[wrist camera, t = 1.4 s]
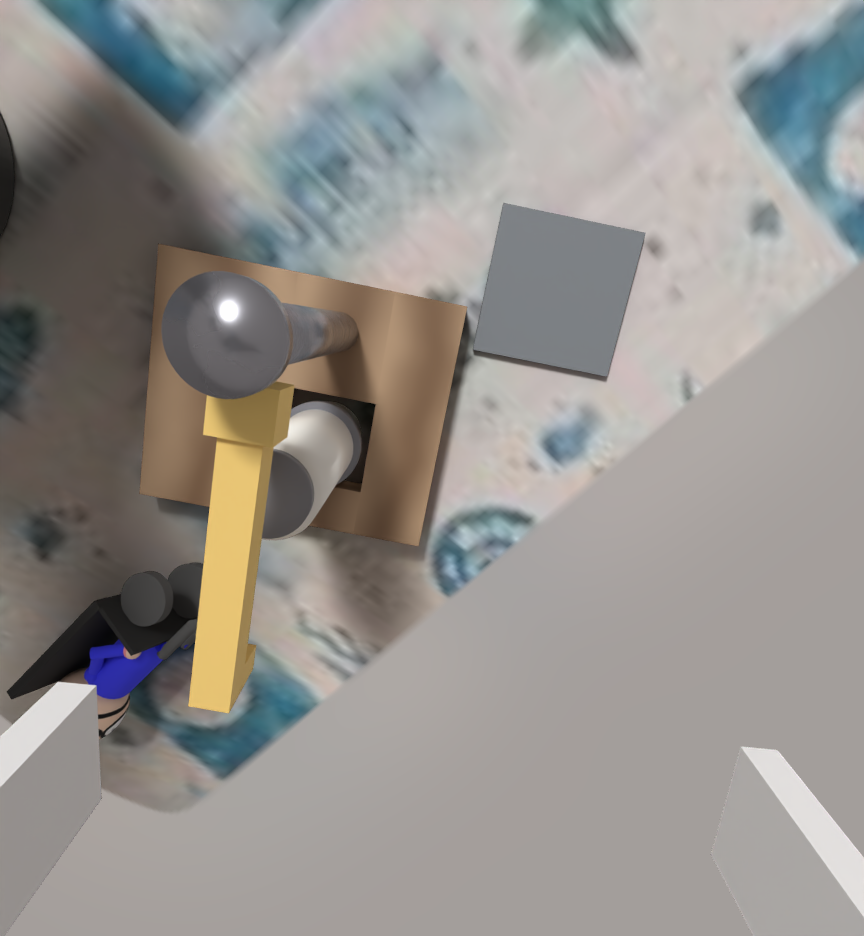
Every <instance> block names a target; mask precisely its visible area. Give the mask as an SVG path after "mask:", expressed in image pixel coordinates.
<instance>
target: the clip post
mask: <svg viewBox="0 0 864 936" xmlns="http://www.w3.org/2000/svg"><path fill="white" fill-rule="evenodd" d="M161 334H162V342H163V346H164V350H165V352H166V355H167V358H168V360H169V362H170V363H171V365H172V367H173V368H174V370H175V371H176V373H177V374H178V375H179V376H180V377H181V378H182V379H183V380H184V381H185V382H186V383H187V384H188V385H190V386H191V387H193V388H194V389H196V390H197V391H199V392H201V393H203V394H206V395H208V396H211V397H215V398H220V399H238V398H243V397H247V396H250V395H253V394H256V393H258V392H260V391H263V390H265V389H266V388H268V387H270V386H271V385H272V384H273V383H275V382H276V381H277V380H278V379H279V378H280V376H281V375H282V374H283V372H284V371H285V369H286V367H287V365H290V364H294V363H298V362H302V361H306V360H310V359H314V358H318V357H322V356H326V355H330V354H334V353H338V352H342V351H345V350H348V349H350V348H351V347H352V346H353V345H354V344H355V343H356V341H357V338H358V326H357V324H356V322H355V320H354V319H353V318H352V317H351V316H350V315H348V314H346V313H344V312H338V311H332V310H326V309H319V308H313V307H307V306H300V305H294V304H288V303H281V301H280V300H279V299H278V298H277V296H276V295H275V294H274V293H273V292H272V291H271V290H270V289H269V288H267V287H266V286H265V285H263V284H262V283H260V282H258V281H257V280H254V279H252V278H250V277H247V276H243V275H239V274H236V273H232V272H225V271H211V272H205V273H202V274H198V275H196V276H194V277H192V278H190V279H188V280H187V281H185V282H184V283H183V284H181V285H180V286H179V287H178V288H177V289H176V290H175V292H174V293H173V294H172V296H171V297H170V299H169V300H168V303H167V305H166V307H165V310H164V313H163V318H162V326H161Z"/></svg>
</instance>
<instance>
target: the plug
mask: <svg viewBox="0 0 864 936" xmlns="http://www.w3.org/2000/svg"><path fill="white" fill-rule="evenodd" d="M361 451H362V431H361V426H360V423H359V421H358V419H357V417H356V416H355V415H354V413H353V412H352V411H351V410H350V409H348V408H347V407H346V406H344V405H342V404H339V403H337V402H332V401H309V402H305V403H302V404H300V405H298V406H296V407H294V408H293V409H291V415H290V422H289V430H288V437H287V438H286V439H284V440H283V441H281V442H280V443H279V444H277V445H276V446H275V447H274V449H273V456H272V464H271V471H270V479H269V486H268V494H267V502H266V509H265V517H264V524H263V532H262V539H265V540H282V539H286V538H290V537H292V536H295V535H297V534H298V533H300V532H302V531H303V530H304V529H306V528H307V527H308V526H309V525H310V523H311V522H312V521H313V519H314V518H315V516H316V515H317V513H318V512H319V510H320V509H321V507H322V506H323V504H324V503H325V501H326V500H327V498H328V496H329V495H330V493H331V492H332V490H333V489H334V487H335V486H336V485H337V484H339V483H340V482H342V481H343V480H345V479H346V478H347V477H348V476H349V475H350V474H351V473H352V471H353V470H354V468H355V466H356V465H357V463H358V461H359V458H360V455H361Z"/></svg>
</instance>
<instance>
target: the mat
mask: <svg viewBox="0 0 864 936" xmlns="http://www.w3.org/2000/svg"><path fill="white" fill-rule="evenodd" d="M644 237H645V233H644V232H639V231H634V230H629V229H625V228H620V227H615V226H610V225H606V224H601V223H596V222H591V221H587V220H582V219H577V218H572V217H568V216H563V215H558V214H554V213H549V212H544V211H539V210H535V209H530V208H525V207H520V206H516V205H511V204H506V203H504V204H503V207H502V212H501V217H500V222H499V226H498V231H497V236H496V241H495V246H494V250H493V255H492V260H491V265H490V269H489V274H488V279H487V284H486V289H485V293H484V298H483V303H482V308H481V312H480V317H479V322H478V327H477V332H476V336H475V341H474V346H473V350H477V351H482V352H487V353H492V354H497V355H502V356H507V357H512V358H517V359H522V360H527V361H532V362H537V363H542V364H547V365H552V366H557V367H562V368H567V369H572V370H577V371H582V372H587V373H592V374H597V375H602V376H607V375H608V371H609V367H610V364H611V360H612V356H613V352H614V349H615V345H616V341H617V338H618V334H619V330H620V326H621V323H622V319H623V315H624V311H625V308H626V304H627V300H628V296H629V293H630V289H631V285H632V282H633V278H634V274H635V270H636V267H637V263H638V259H639V255H640V252H641V248H642V244H643V241H644Z"/></svg>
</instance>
